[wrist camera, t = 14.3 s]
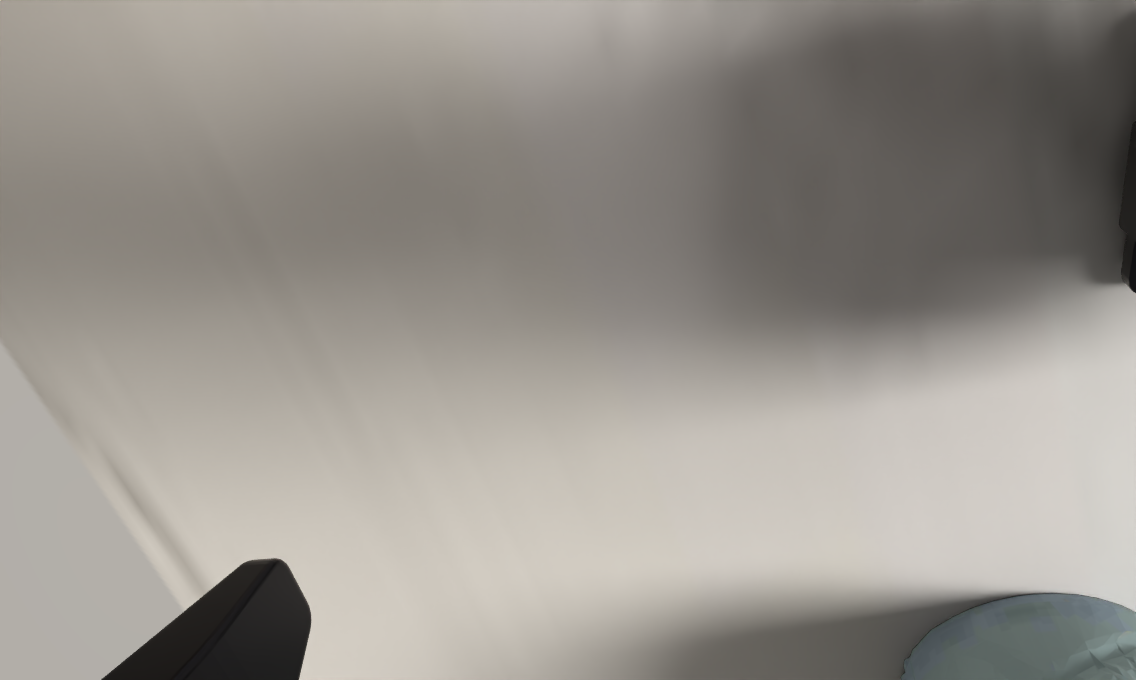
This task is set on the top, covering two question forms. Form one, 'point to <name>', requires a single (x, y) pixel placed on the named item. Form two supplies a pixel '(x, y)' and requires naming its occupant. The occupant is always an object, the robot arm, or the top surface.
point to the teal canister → (1030, 642)
